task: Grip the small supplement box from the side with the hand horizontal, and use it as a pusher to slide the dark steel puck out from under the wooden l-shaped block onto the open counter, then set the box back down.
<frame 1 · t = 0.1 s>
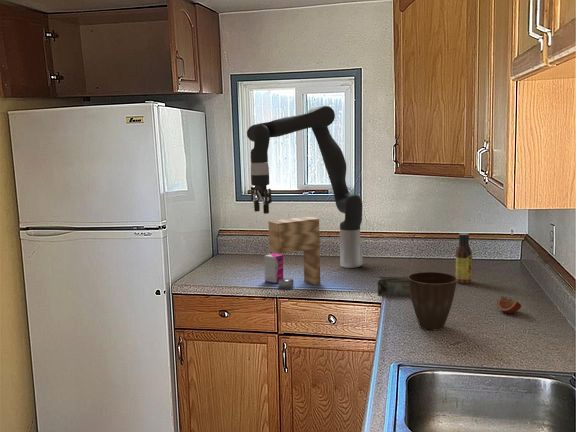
hand: (261, 212, 246), 29 cm above the countertop, tool pointing down, fingers open, 8 cm apart
plant pot: (431, 326, 188), on the countertop
wooden l-shaped block: (295, 285, 242), on the countertop
sauce bottle: (463, 282, 239), on the countertop
supplement box: (274, 282, 248), on the countertop
fruit slice: (508, 313, 200), on the countertop
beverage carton: (402, 294, 226), on the countertop
token: (286, 287, 239), on the countertop
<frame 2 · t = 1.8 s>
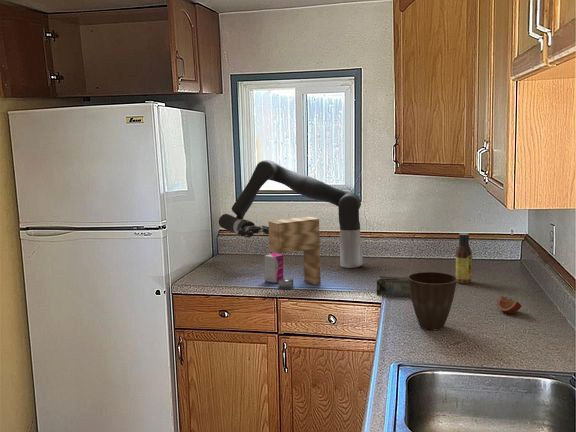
hand: (260, 233, 255), 19 cm above the countertop, tool horizontal, fingers open, 8 cm apart
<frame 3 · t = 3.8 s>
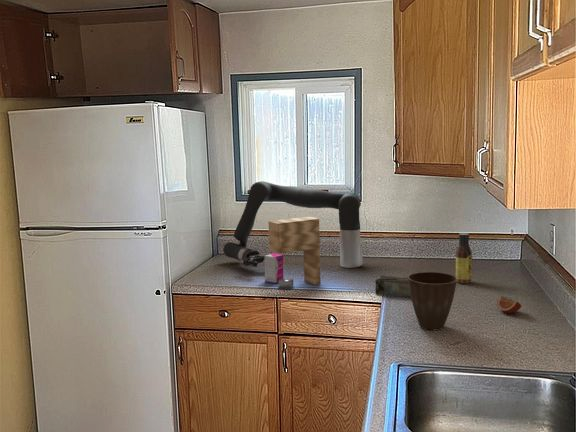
hand: (265, 263, 254), 6 cm above the countertop, tool horizontal, fingers open, 8 cm apart
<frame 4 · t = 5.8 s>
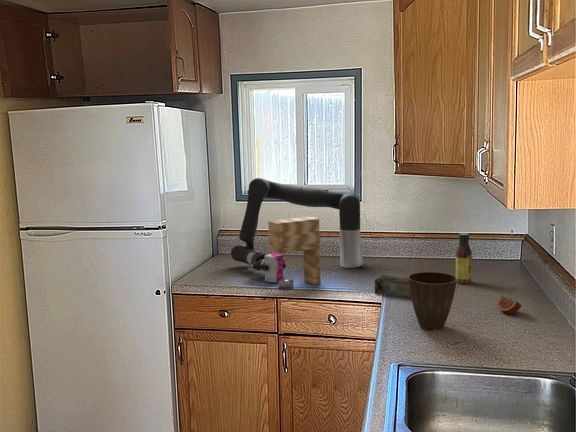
hand: (276, 267, 245), 7 cm above the countertop, tool horizontal, fingers closed on supplement box, 7 cm apart
supplement box: (274, 281, 248), on the countertop, touching gripper
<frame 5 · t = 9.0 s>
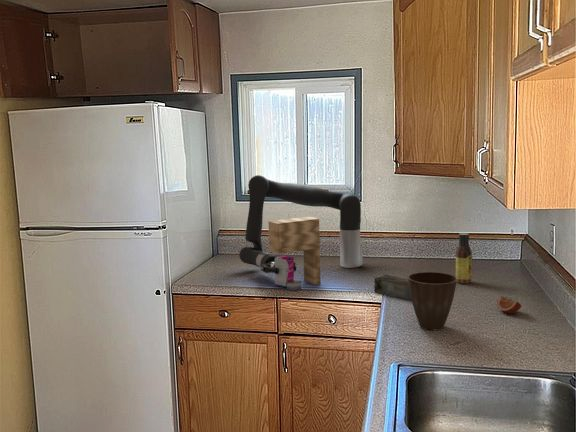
hand: (286, 270, 237), 7 cm above the countertop, tool horizontal, fingers closed on supplement box, 7 cm apart
supplement box: (284, 285, 240), on the countertop, touching gripper, token
token: (294, 289, 236), on the countertop, touching supplement box
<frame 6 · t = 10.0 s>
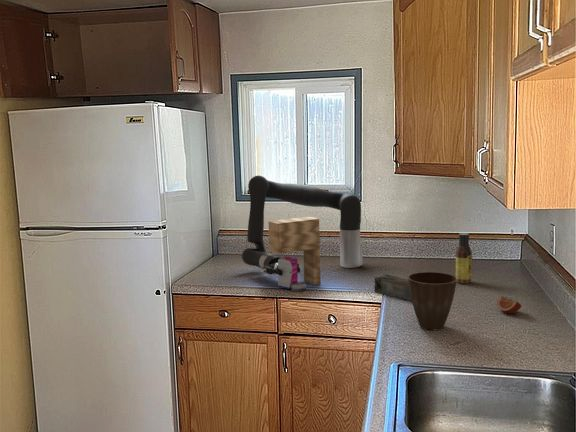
hand: (290, 271, 235), 7 cm above the countertop, tool horizontal, fingers closed on supplement box, 7 cm apart
supplement box: (288, 286, 238), on the countertop, touching gripper
token: (298, 290, 234), on the countertop
when the fingers open (7 cm above the countertop, at t = 12.9 s): supplement box stays where it is, on the countertop.
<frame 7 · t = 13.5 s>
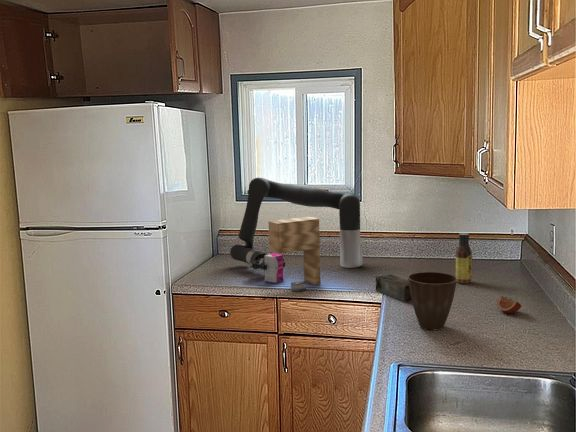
hand: (275, 266, 246), 7 cm above the countertop, tool horizontal, fingers open, 8 cm apart
supplement box: (274, 282, 248), on the countertop
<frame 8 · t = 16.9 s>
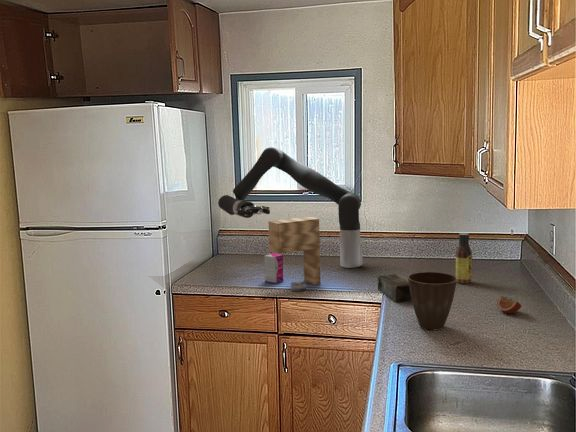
hand: (260, 212, 253), 28 cm above the countertop, tool horizontal, fingers open, 8 cm apart
at the end: token inside the target area (5.4 cm from its centre), on the countertop; the gripper is holding nothing; supplement box tilted 0° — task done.
